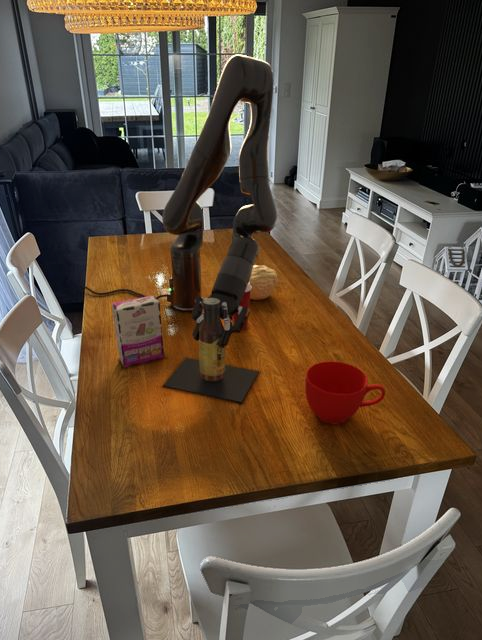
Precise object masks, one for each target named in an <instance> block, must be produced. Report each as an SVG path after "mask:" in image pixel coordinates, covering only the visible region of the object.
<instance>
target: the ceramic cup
mask: <svg viewBox="0 0 482 640" xmlns="http://www.w3.org/2000/svg"><path fill="white" fill-rule="evenodd" d="M304 378H305V379H304V380H305V381H304V382H305V383H304V387H305V388H304V389H305V398H306V401H307V404H308V406H309V408H310V409H311V411H312V412H313V414H314V415H315V416H316V417H317V418H318V419H319V420H320V421H321V422H324V423H326V424H331V425H338V424H341V423H343V422H346V420H348V419H351V417H354V415H355V414H356V413H357V412H358V411H359V409H361V408H364V407H369V406H374V405H376V404H378V403H381V401H383V400H384V399H385V396H386V389H385V388H384V386H383V385H381V384H377V383H375V384H374V383H373V384H369V379H368V376H367V375H366V373H365V372H364V371H363V370H361V369H360V368H358V367H357V366H355V365H352V364H350V363H346V362H343V361H334V360H333V361H332V360H331V361H329V360H328V361H322V362H317V363H315V364H313V365H311V366H310V367H309V368H308V369H307V370H306V373H305V377H304ZM368 384H369V385H368ZM373 390H379V391H381V394H380V395H379V396H378V397H376V398H374V399H370V400H367V401H364V399H365V396H367V394H368V393H369V392H370V391H373Z"/></svg>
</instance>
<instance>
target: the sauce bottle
mask: <svg viewBox="0 0 482 640" xmlns="http://www.w3.org/2000/svg"><path fill="white" fill-rule="evenodd" d="M206 298H207V299H204V300H203V311H204V316H203V318H204V320H203V321H202V323H201V324H200V327H199V341H198V358H199V359H198V360H199V364H200V375H201V377H202V379H204V380H206V381H212V382H214V381H218V380H220V379H222V378H223V377H224V374H225V365H226V346H225V347H224V348H221V347H220V346H218V343H219V341H220V338H221V335H222V333H223V330H224V331H225V326H224V324H223V322H222V319H221V318H220V306H221V305H220V300H219V299H216V298H208V297H206Z"/></svg>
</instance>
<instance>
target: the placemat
mask: <svg viewBox="0 0 482 640" xmlns="http://www.w3.org/2000/svg"><path fill="white" fill-rule="evenodd" d="M259 373H260V371H259V370H254V369H248V368H244V367H239V366H233V365H227V364H225V374H224V377H223V378H222V379H220V380H218V381H214V382H212V381H206V380H204V379H202V377H201V375H200V364H199V359H196V358H189V357H185V358H184V359H183V360H182V361H181V363H180V364H179V365H178V366H177V368H176V369H175V370H174V371H173V373H172V374H171V375H170V376H169V377H168V378H167V380H166V381H165V382H164V383H163V384H162V388H166V389H170V390H176V391H180V392H185V393H191V394H194V395H200V396H204V397H210V398H213V399H219V400H223V401H228V402H232V403H233V402H234V403H238V404H243V402H244V401H245V399H246V397H247V395H248V393H249V391H250V389H251V388H252V386H253V384H254V382H255V381H256V378H257V377H258V375H259Z"/></svg>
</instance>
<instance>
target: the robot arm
mask: <svg viewBox="0 0 482 640" xmlns="http://www.w3.org/2000/svg"><path fill="white" fill-rule="evenodd" d="M222 70H223V71H221V72H222V73H221V75H220V78H219V81H218V85H217V87H216V91H215V93H214V96H213V99H212V102H211V105H210V109H209V112H208V114H207V116H206V119H205V121H204V124H203V126H202V128H201V131H200V133H199V136H198V137H197V140H196V142H195V144H194V146H193V148H192V151H191V153H190V155H189V159H188V161H187V163H186V166H185V168H184V170H183V172H182V174H181V177H180V180H179V181H178V184H177V185H176V187H175V189H174V191H173V193H171V195H170V198H169V199H168V201H167V203H166V204H165V206H164V209H163V211H162V217H161V219H162V225H163V228H164V230H165V231H166V233H168V234H170V235H172V236H176V239H174V241H173V242H171V244H170V247H169V254H170V255H169V256H170V272H171V273H170V274H171V277H170V278H169V279H168V282H169V288H168V291H169V292H168V293H166V294H160V295H158V296H155V298H156V299H157V300H159V299H161V298H166V302H168V303H170V307H171V308H174V309H175V310H177V311H182V312H192V313H191V316H190V318H191V319H192V320H193V321H194V322H195V326H194V328H193V332H192V339H193V340H195V341H197V342H199V327H200V324H201V323H202V321H203V320H204V318H203V316H204V308H203V300H204V299H207V298H216V299H219V300H220V305H221V306H220V319H221V321H222V320H223V323H224V330H225V331H224V330H223V333H222V335H221V338H220V341H219V343H218V346H220V347H221V348H224V347H225V348H226V347H227V346H228V344H229V342H230V340H231V337H232V334H240V333H242V332H243V331H242V329H243V327H244V325H245V323H246V321H247V319H248V320H249V316H250V315H251V311H250V309H249V310H248V308H247V307H241V306H240V302H241V301H242V298H243V296H244V293H245V290H246V287H247V285H248V283H249V280H250V277H251V273H252V269H253V266H255V264H256V260H257V258H258V255H259V251H260V246H259V245H260V244H259V243H258V242H257V241H256V240H255V239H253V238H254V235H257V234H266V233H270V232H271V231H273V229H274V228H275V226H276V224H277V220H278V213H277V207H276V202H275V199H274V196H273V192H272V190H271V187H270V179H269V178H270V177H269V176H270V175H269V137H270V126H271V125H270V124H271V118H272V117H271V116H272V109H273V99H274V96H273V95H274V82H275V81H274V73H273V69H272V66H271V65H270V64H269V63H268V62H267V61H264V60H262V59H258V58H255V57H252V56H249V55H248V56H247V55H245V54H244V55H243V54H234V55H232V56H231V57H230V58H229V59H228V60H227V61H226V63H225V65H224V67H223V69H222ZM240 102H242V103H248V104H249V106H250V107H249V108H250V124H249V129H248V131H247V134H246V136H245V138H244V141H243V143H242V145H241V148H240V151H239V155H238V173H239V175H238V176H239V188H240V191H241V193H242V194H244V195H246V196H247V195H248V196H250V197H251V200H252V204H248V205H243V206H242V207H241V208H240V209H239V210H238V211H237V213H236V214H235V216H234V219H233V224H232V234H231V242H230V245H229V248H228V250H227V253H226V255H225V257H224V260H223V261H222V263H221V266H220V268H219V270H218V273H217V276H216V278H215V280H214V283H213V286H212V289H211V292H210V295H209V296H208V297H203V296H202V262H201V261H202V259H201V250H202V248H203V243H204V213H203V209H202V207H201V205H200V203H199V202H198V201H199V199H200V198H201V197H202V196H203V194H204V193H206V191H208V189H210V187H211V186H212V185H213V184H214V183H215V182H216V181H217V180H218V178H219V177H220V176H221V174H222V172H223V170H224V169H225V167H226V165H227V163H228V160H229V158H230V156H231V152H232V141H231V140H232V139H231V132H230V124H231V123H230V122H231V120H232V119H231V118H232V117H233V113H234V111H235V109H236V107H237V105H238V103H240ZM84 289H86V290H88V291H89V292H90V293H91V294H93V295H96V296H105V295H112V294H114V293H119V292H129V293H132V294H134V295H136V296H140V297H141V298H142V297H147V295H145V294H143V293H139V292H137V291H135V290H133V289H129V288H117V289H114V290H110V291H105V292H97V291H95V290H93V289H91V288H90V287H88V286H85V285H84V286H81V288H80V289H79V290H80V291H84ZM238 311H239V312H238ZM237 312H238V314H239V316H238V318H237V320H236V322H235V324H234V326H233V315H234V314H235V313H237Z"/></svg>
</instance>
